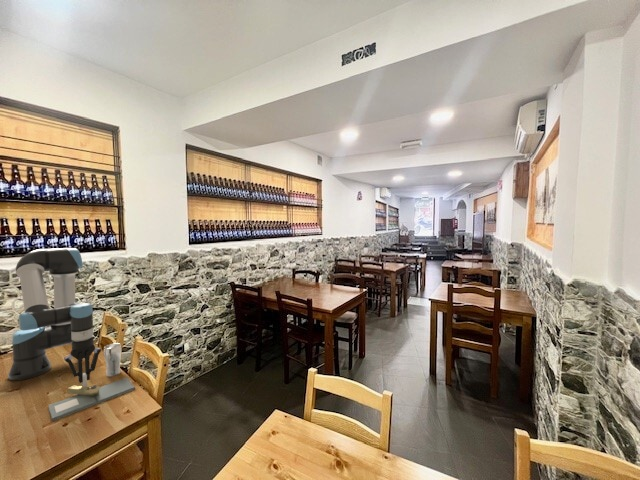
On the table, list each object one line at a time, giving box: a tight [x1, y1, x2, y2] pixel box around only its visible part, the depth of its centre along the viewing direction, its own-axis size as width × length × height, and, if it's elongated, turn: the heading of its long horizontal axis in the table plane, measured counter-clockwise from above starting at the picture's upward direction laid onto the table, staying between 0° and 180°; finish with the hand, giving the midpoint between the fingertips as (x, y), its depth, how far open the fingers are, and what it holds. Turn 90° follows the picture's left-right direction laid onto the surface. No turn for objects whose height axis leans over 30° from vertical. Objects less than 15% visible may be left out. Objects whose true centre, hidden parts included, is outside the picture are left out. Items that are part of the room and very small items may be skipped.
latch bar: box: [67, 385, 100, 397], centre depth 121 cm, size 4×14×4 cm, turn 83°
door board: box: [48, 377, 136, 422], centre depth 121 cm, size 12×28×1 cm, turn 140°
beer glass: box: [104, 342, 122, 378], centre depth 140 cm, size 7×7×15 cm
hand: (84, 387), depth 124 cm, fingers closed
